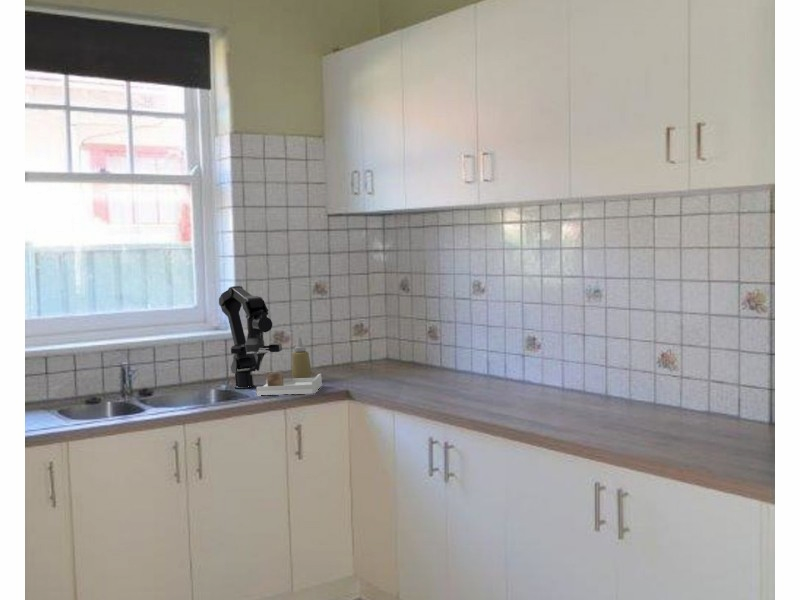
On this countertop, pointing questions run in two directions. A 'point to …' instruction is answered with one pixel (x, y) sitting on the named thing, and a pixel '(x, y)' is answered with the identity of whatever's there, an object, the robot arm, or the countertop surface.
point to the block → (275, 379)
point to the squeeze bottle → (300, 362)
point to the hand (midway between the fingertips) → (257, 370)
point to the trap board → (292, 386)
